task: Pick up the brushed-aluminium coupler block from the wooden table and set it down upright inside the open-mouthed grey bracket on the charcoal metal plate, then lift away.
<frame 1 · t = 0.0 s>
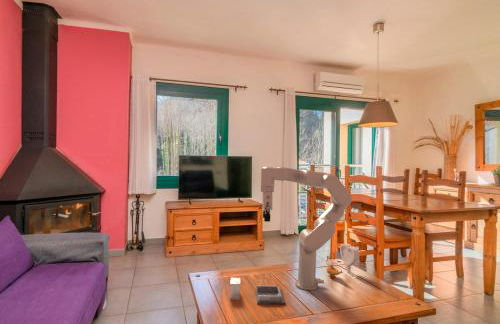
hand: (266, 219, 162), 37 cm above the table, tool pointing down, fingers open, 9 cm apart
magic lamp: (333, 278, 175), on the table
coupler block: (235, 296, 149), on the table
bracket dock: (270, 297, 148), on the table
heart sculpture: (348, 274, 182), on the table
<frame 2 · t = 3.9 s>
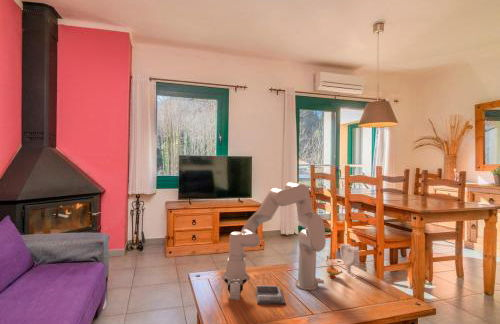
hand: (235, 291, 149), 2 cm above the table, tool pointing down, fingers closed on coupler block, 5 cm apart
coupler block: (234, 295, 149), on the table, touching gripper
everything else where it was.
when the fingers open (5 cm above the table, at t = 9.1 s): coupler block drops 1 cm, resting on bracket dock.
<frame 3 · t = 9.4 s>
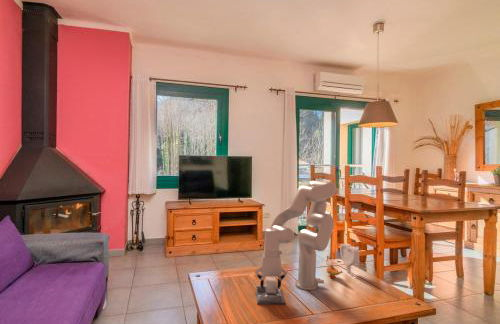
hand: (270, 287, 148), 5 cm above the table, tool pointing down, fingers open, 7 cm apart
coupler block: (270, 295, 148), point 1 cm above the table, touching bracket dock
everything else where it was.
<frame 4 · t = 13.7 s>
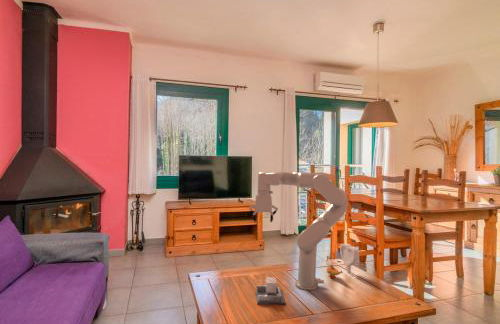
hand: (262, 221, 172), 33 cm above the table, tool pointing down, fingers open, 9 cm apart
nothing on the table moved.
at the end: coupler block 0.8 cm off-centre on the bracket dock, point 1.0 cm above the bracket dock's base; coupler block tilted 0°; the gripper is holding nothing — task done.
